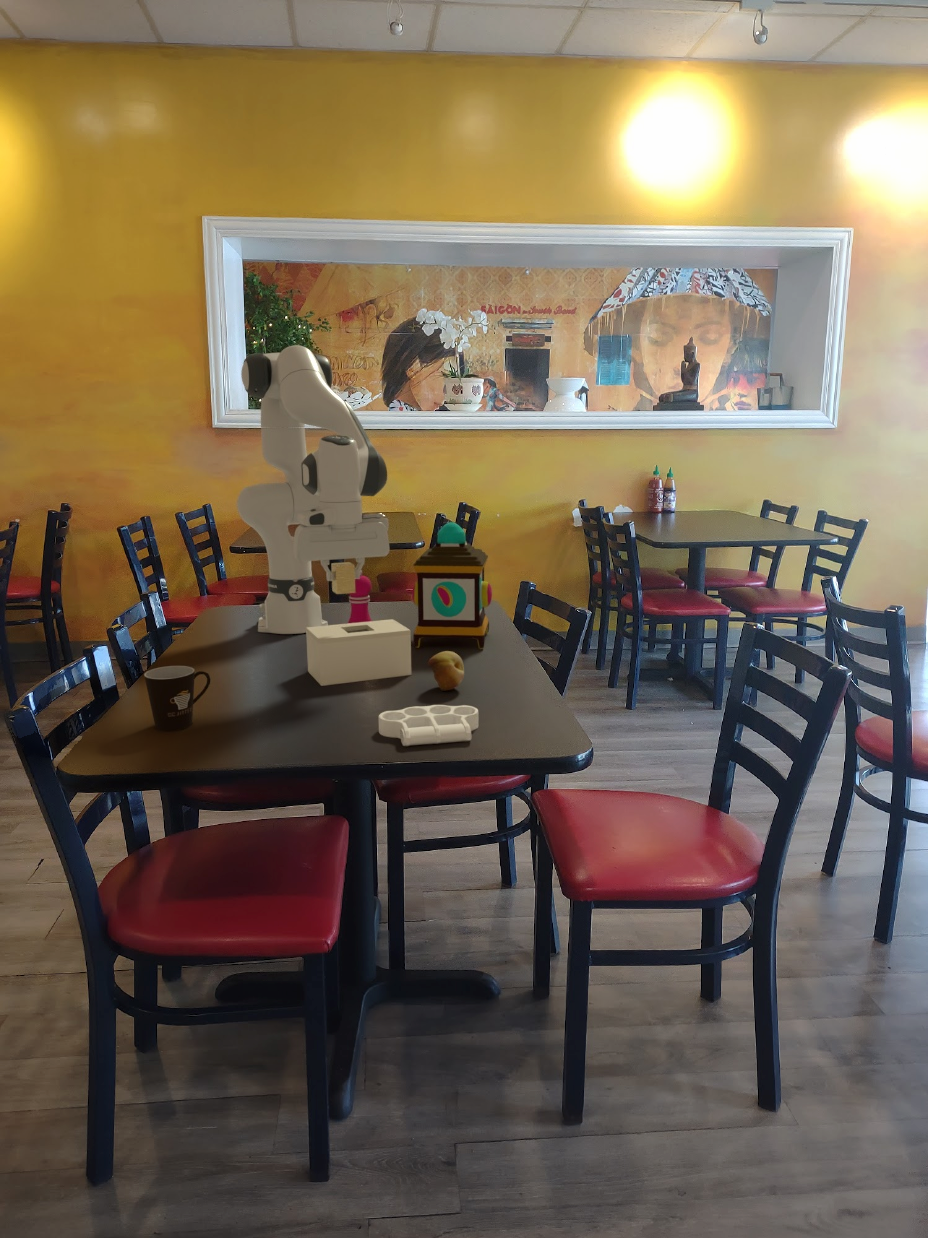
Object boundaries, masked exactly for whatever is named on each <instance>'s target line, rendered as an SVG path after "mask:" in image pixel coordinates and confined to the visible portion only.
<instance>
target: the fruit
mask: <svg viewBox="0 0 928 1238" xmlns="http://www.w3.org/2000/svg"><path fill="white" fill-rule="evenodd" d="M427 665H428V668H430V669H431V670H432V672H433V677H434V680H435V681H436V682H437V686H438V687H439V689H440V690H441V691H452V690H454V689H455V688H456V687H458V686H459V685H460V684H461V682H463V681H462V680H463V679H464V677H465V665H464V662H463V659H462V657H461V656H460V655H458V654H457V653H455V651H449V650H445V651H441V652H438V653H436V654H435V655H432V657H431V658H429V659H428V664H427Z"/></svg>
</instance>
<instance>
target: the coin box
mask: <svg viewBox="0 0 928 1238" xmlns="http://www.w3.org/2000/svg"><path fill="white" fill-rule="evenodd" d="M411 632H412V631H411V629H409V628H408V627H406V626H405V625H403V624H401V623H400V622H398V621H396V620H395V619H393V618H392V619H383V620H382V619H380V620H372V621H369V622H359V623H348V622H347V623H340V624H328V625H327V626H317V627H306V633H305V634H306V637H305V638H306V654H307V657H306V658H307V672H308V673H309V674H310V675H311V677H313V679H314V680H315V681H316V682H317V683H318V684H319V685H320V686H322V687H323V686H331V685H339V684H347V683H355V682H362V681H364V682H365V681H371V680H372V681H373V680H379V679H387V678H397V677H405V676H406V677H407V676H412V646H411V645H412V643H411V642H412V641H411V640H412V639H411V637H412V636H411V634H412V633H411Z"/></svg>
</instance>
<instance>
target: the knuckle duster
mask: <svg viewBox="0 0 928 1238" xmlns="http://www.w3.org/2000/svg"><path fill="white" fill-rule="evenodd" d="M478 728H479V709H478V708H477V707H475V706H472V705H468V704H467V705H466V704H462V705H447V704H446V705H445V704H432V705H427V706H426V705H425V706H417V705H416V706H409V707H404V708H403V709H402V708H401V709H397V710H385V711H383V712H381V713H380V714H379V715H378V734H380V735H381V736H383V737H386V738H387V737H388V738H398V739H400V742H401V744H402V746H403V747H409V746H419V745H433V744H437V745H438V744H447V743H457V742H458V743H459V742H470V741H471V740H472V739H473V738H472V736H473V735H472V732H473V731H475V730H476V729H478Z"/></svg>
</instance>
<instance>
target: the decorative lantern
mask: <svg viewBox="0 0 928 1238" xmlns="http://www.w3.org/2000/svg"><path fill="white" fill-rule="evenodd" d="M466 538H467V537H466V533H465V530H464V529H463V528H462V527H461V526H460V525H459V524H458V523H456V522H451V521H450V522H447V523H445V524H444V525H443V526H442V527H441V528H440V529H439V530H438V533H437V542H436V543H435V544H434V545H433V547H432V548H427V549H426V550H425V551H424V552H423V553H422V554H421V555H420V557H418V558H417V559H416V560H415V562H414V563H413V565H412V566H413V569H414V572H415V573H416V576H417V580H416V581H415V582H414V584H413V586H412V590H411V593H412V594H411V597H412V602H413V604H414V605H415V606H416V607H417V612H418V613H417V618H418V621H417V626H416V627H415V629H414V632H413V636H412V637H413V638H412V639H413V645H414V648H416V649H418V648H420V646H421V640H422V638H423V639H424V638H425V639H426V638H430V639H431V638H432V639H433V638H434V639H435V638H436V639H437V638H438V639H474V640H476V641H477V645H478V649H479V650H482V649H484V648H485V647H484V646H485V640H486V639H485V638H486V637H485V636H486V635H487V634H488V633H489V630H490V621H489V618H488V616H487V614H486V613H485V612H486V611H485V608H487V607H489V606H490V605H491V602H492V596H493V589H492V586H491V584H490V583H489V582H488V581H485V565H486V563H487V561H488V558H489V555H488V554H486V552H484V551H482V549H480V548H475V546H472V545H471V543H470V542H469V543H468V541H467V539H466Z"/></svg>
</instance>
